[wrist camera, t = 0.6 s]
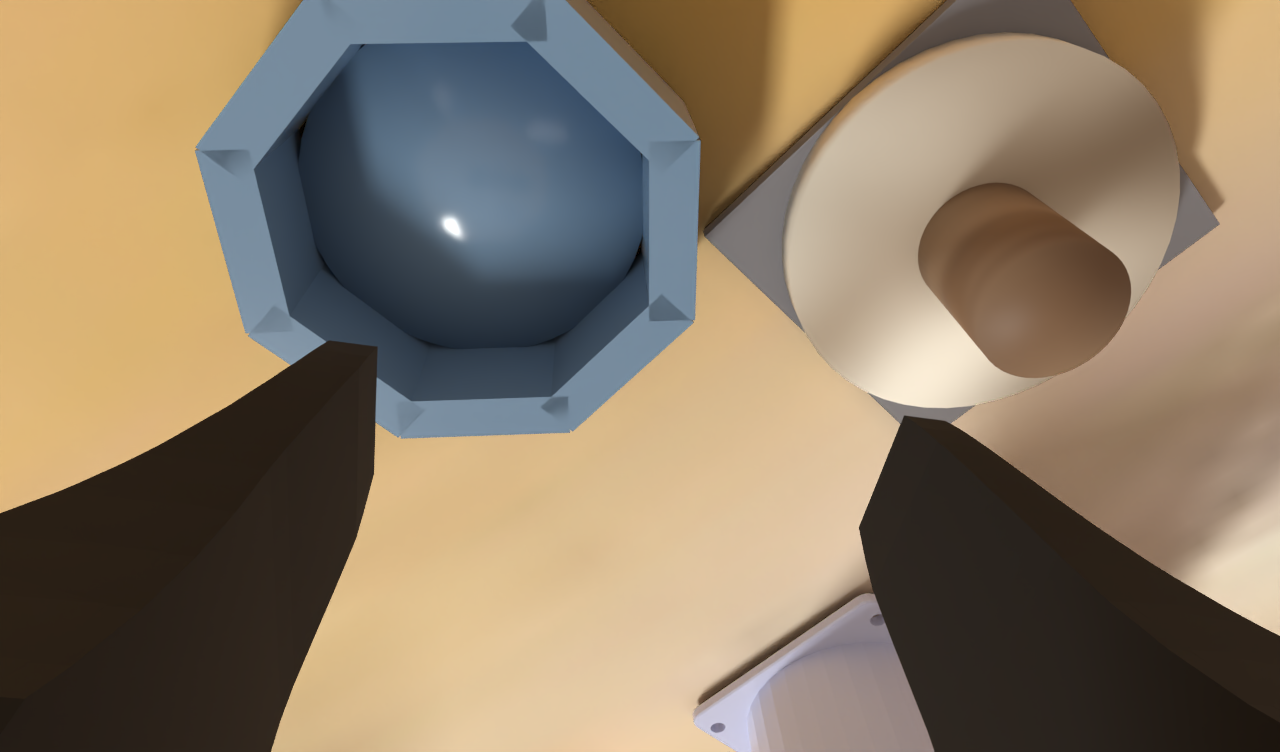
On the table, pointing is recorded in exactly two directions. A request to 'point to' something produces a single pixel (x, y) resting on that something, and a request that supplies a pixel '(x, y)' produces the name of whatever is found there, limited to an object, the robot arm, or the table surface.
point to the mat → (970, 9)
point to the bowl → (460, 206)
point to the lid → (980, 219)
